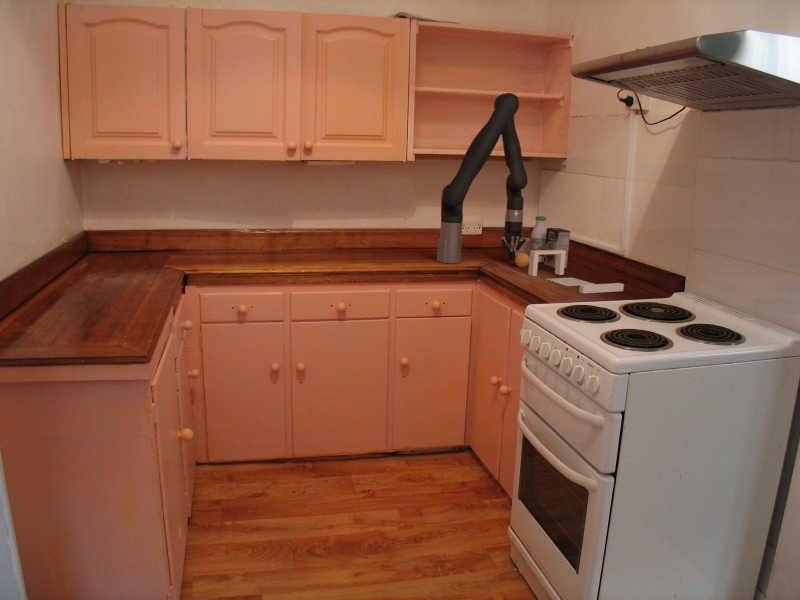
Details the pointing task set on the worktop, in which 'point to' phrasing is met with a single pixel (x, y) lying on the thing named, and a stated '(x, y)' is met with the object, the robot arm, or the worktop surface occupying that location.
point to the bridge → (535, 253)
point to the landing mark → (570, 281)
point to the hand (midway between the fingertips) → (510, 260)
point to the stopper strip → (601, 288)
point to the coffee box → (556, 245)
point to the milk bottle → (538, 237)
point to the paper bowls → (524, 247)
